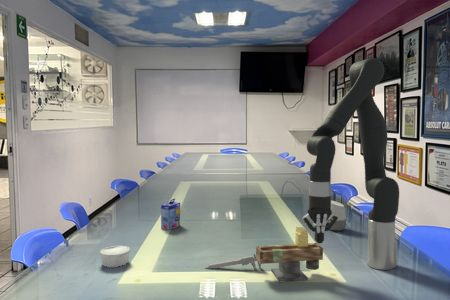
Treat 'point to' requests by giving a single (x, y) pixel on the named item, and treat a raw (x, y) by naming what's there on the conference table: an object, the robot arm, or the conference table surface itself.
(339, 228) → the smart speaker
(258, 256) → the beam
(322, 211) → the robot arm
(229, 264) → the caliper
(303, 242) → the block
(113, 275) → the conference table surface
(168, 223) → the ink cartridge box
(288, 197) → the conference table surface
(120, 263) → the ramekin
